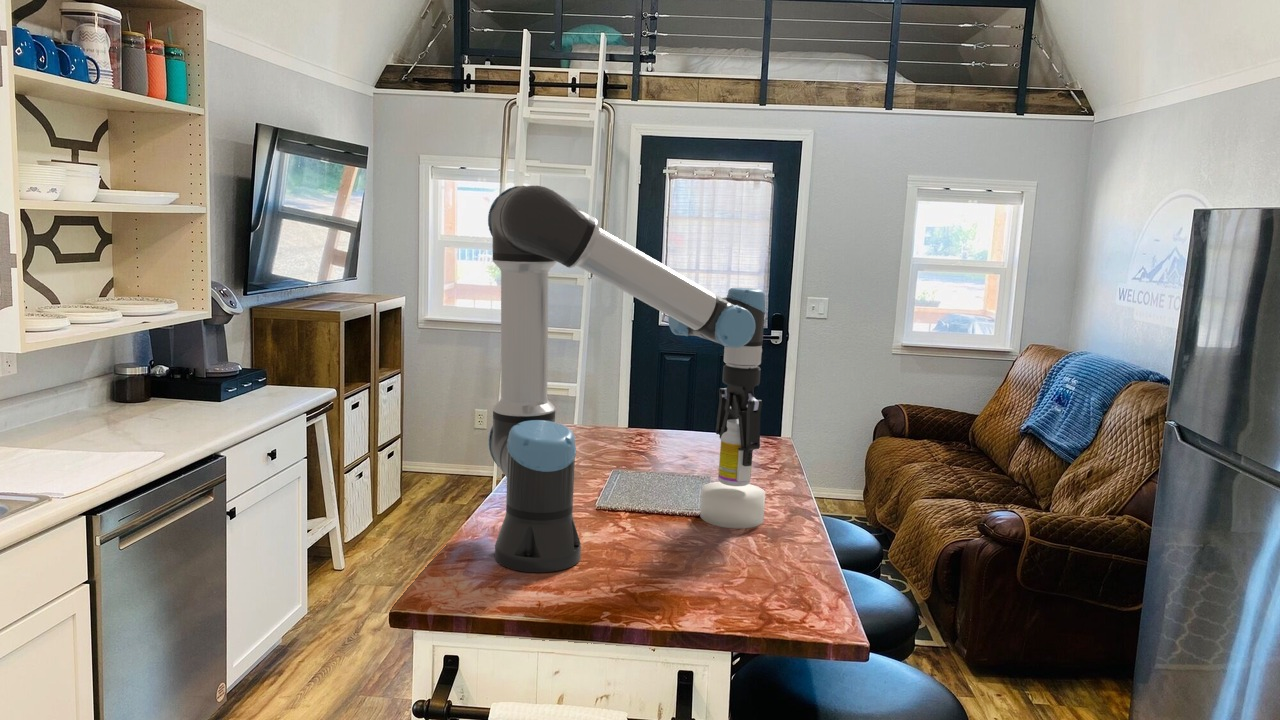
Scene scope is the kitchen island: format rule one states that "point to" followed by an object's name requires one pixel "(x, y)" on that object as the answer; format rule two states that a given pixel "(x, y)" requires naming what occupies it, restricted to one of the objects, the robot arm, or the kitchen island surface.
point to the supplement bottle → (730, 455)
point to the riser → (732, 505)
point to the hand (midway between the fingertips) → (734, 475)
